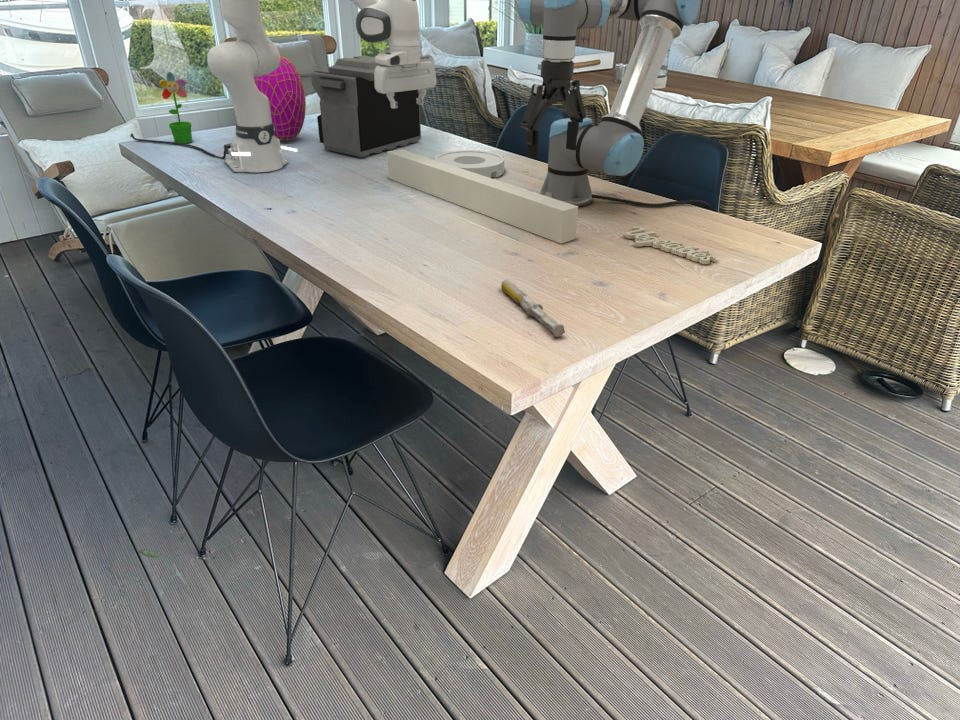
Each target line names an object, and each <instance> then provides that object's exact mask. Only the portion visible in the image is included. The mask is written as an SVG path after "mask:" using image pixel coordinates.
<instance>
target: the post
mask: <svg viewBox="0 0 960 720" xmlns="http://www.w3.org/2000/svg"><path fill="white" fill-rule="evenodd" d="M386 159H387V174H388V179H389V180H391V181H395V182H397V183H399V184H402V185H405V186H408V187H410V188H413V189H416V190H418V191H420V192H424V193H426V194H429V195H431V196H434V197H436V198H439V199H442V200H443V201H447V202H450V203H451V204H455V205H458V206H460V207H463V208H466V209H468V210H471V211H473V212H476V213H478V214H482V215H484V216H486V217H489V218H492V219H495V220H498V221H500V222H503V223H504V224H508V225H511V226H513V227H516V228H518V229H521V230H524V231H527V232H529V233H531V234H535V235H537V236H540V237H542V238H545V239H548V240H551V241H553V242H556V243H557V244H564V243H565V244H566V243H567V242H570V241H574V240H576V239H577V238H576V237H577V226H578V217H579V216H578V215H579V207H578V206H575V205H572V204H569V203H566V202H563V201H560V200H556V199H553V198H550V197H547V196H544V195H541V194H540V193H538V192H534V191H531V190H528V189H525V188H522V187H519V186H517V185H513V184H510V183H508V182H507V183H506V182H503V181H501V180H498V179H494V178H493V177H491V178H489V177H485V176H482V175H479V174H476V173H473V172H470V171H467V170H464V169H461V168H458V167H455V166H451V165H448V164H445V163H442V162H439V161H436V160H435V159H433V158H430V157H426V156H423V155H420V154H418V153H414V152H412V151H409V150H405V149H402V148H400V149H399V148H398V149H392V150H387V151H386Z"/></svg>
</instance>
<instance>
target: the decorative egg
mask: <svg viewBox="0 0 960 720" xmlns="http://www.w3.org/2000/svg"><path fill="white" fill-rule="evenodd" d="M254 81H255V84H256V86H257V88H258V90H259V91H260V92H262V93H263V94H265V95H266V96H267V97H268V99H269V104H270V111H271V118H272V122H273V124H274V127H275V137H276V138H278V139H279V141H280V142H281V141H282V142H286V141H291V140H293V139H296V138H297V137H298V136H299V134H301V131H302V129H303V127H304V123H305V118H306V104H307V103H306V102H307V101H306V99H307V97H306V93H305V88H304V84H303V81H302V77H301V75H300V73H299V71H298V69H297V67H296V66H295V65H294V63H293V62H292V61H291V60H290V59H288V58H287V57H285V56H282V55H280V65H279V67H278V68H277V69H276V70H275V71H273V72H272V73H270V74H268V75H265V76H260V77H254Z"/></svg>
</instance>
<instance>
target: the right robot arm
mask: <svg viewBox="0 0 960 720" xmlns="http://www.w3.org/2000/svg"><path fill="white" fill-rule="evenodd" d="M700 2H701V0H518V1H517V15H518V18H519V19H520V20H521V22H523V23H524V24H529V25H532V26H534V25H536V26H537V25H538V26H539V25H540V26H543V29H542V31H543V32H542V33H543V34H542V45H541V58H542V61H540V63H541V64H540V77H541V78H542V84H537V83H533V84H532V85H531V90H530V96H529V98H528V101H527V103H526V107H525V109H524V113H523V115H522V118H521V121H520V122H519V127H520V128H522V129H524V130H525V131H526V138H525V139H526V140H525V142H526V144H527V148H526V158H529V159H533V160H537V159H538V154H539V153H538V151H539V134H540V131H539V130H538V128H539V127H538V126H539V125H540V124H541V121H542V120H543V118H544V116H545V114H546V113H547V111H548V110H549V107H551V106H552V105H553V104H558V103H561V105H562V107H563V109H564V111H565V113H566V114H567V116H568V117H567V118H561V119H557V120H554V121H553V122H552V123H551V125H550V129H549V130H550V131H549V135H548V138H549V141H548V142H549V143H548V156H547V157H548V159H547V173H546V176H545V178H544V181H543V184H542V187H541V189H540V192H539V194H541V195H544V196H547V197H550V198H553V199H556V200H560V201H563V202H566V203H569V204H572V205H575V206H578V208H580V207H584V206H588V205H589V204H591V203H592V199H598V200H604V201H611V202H617V203H624V204H629V205H633V206H639V207H649V208H662V207H663V208H664V207H669V206H674V205H691V204H700V205H703V206H705V207H706V208H707V209H710V210H711V209H713V207H712V205H711V204H710V203H708V202H707V201H705V200H702V199H689V200H688V199H687V200H674V201H667V202H660V203H652V202H650V203H649V202H642V201H641V202H640V201H635V200H631V199H625V198H618V197H612V196H607V195H599V194H593V193H592V188H591V184H590V179H589V171H593V172H597V173H601V174H606V175H608V176H618V177H624V176H627V175H628V174H631V173H632V172H633V171H634V170H635V169H636V167H637V166H638V165H639V163H640V162H641V159H642V157H643V153H644V147H645V140H644V138H643V136H642V132H643V130H642V128H641V125H640V123H641V120H642V118H643V115H644V113H645V110H646V107H647V104H648V103H649V99H650V97H651V95H652V92H653V89H654V87H655V84H656V82H657V79H658V76H659V75H660V71H661V69H662V67H663V65H664V61H665V59H666V56H667V54H668V51H669V48H670V46H671V44H672V41H673V40H674V39H677V38H678V37H680V35H681V34H682V31H683V28H684V26H685V27H688V26H691V25H693V24H694V23H695V21H696V19H697V18H698V14H699V10H700ZM608 19H610V20H614V19H621V20H627V21H632V22H638V23H639V26H640V28H641V31H640V33H639V36H638V38H637V41H636V44H635V45H634V49H633V51H632V54H631V56H630V59H629V61H628V64H627V66H626V69H625V72H624V74H623V76H622V80H621V82H620V85H619V87H618V89H617V93H616V95H615V97H614V100H613V102H612V105H611V108H610V111H609V113H607V114H605V115H602V116H601V119H600V121H599V122H598V123H599V124H598V126H596V125H593V124H594V122H593V119H592V118H590V117H587V114H586V110H585V106H584V105H585V104H584V102H583V98H582V94H581V89H580V88H581V86H580V85H581V81H580V80H579V79H574V78H573V77H574V69H575V62H574V59H575V57H576V56H575V55H576V45H577V44H576V43H577V30H582V29H591V30H592V29H595V28H598V27H599V28H600V27H601V26H603V25H604V24H605V23H606V22H607V20H608Z"/></svg>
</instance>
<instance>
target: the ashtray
mask: <svg viewBox="0 0 960 720" xmlns="http://www.w3.org/2000/svg"><path fill="white" fill-rule="evenodd" d="M434 160H436V161H439V162H442V163H445V164H448V165H451V166H455V167H458V168H461V169H464V170H467V171H470V172H473V173H476V174H479V175H482V176H485V177H489V178H498V177H501V176H503V174H504V173H505V158H504V156H503V155H501V154H498V153H495V152H493V151H492V152H491V151H486V150H477V149H476V150H474V149H470V150H469V149H467V150H466V149H464V150H463V149H462V150H451V151H446V152H443V153H442V152H441V153H440V154H437V155H436V156H435V157H434Z"/></svg>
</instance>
